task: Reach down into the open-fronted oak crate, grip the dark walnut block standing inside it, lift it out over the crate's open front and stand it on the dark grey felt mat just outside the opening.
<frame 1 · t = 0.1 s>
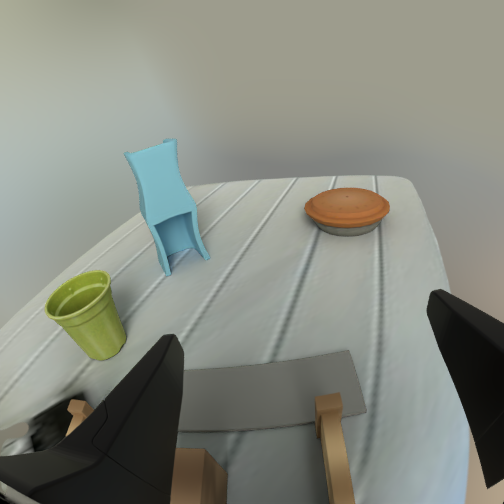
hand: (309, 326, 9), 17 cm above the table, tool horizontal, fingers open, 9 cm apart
pie: (348, 223, 52), on the table
wavy blue tube: (182, 259, 51), on the table
block: (199, 496, 17), on the table
plant pot: (107, 345, 34), on the table
mat: (249, 397, 25), on the table
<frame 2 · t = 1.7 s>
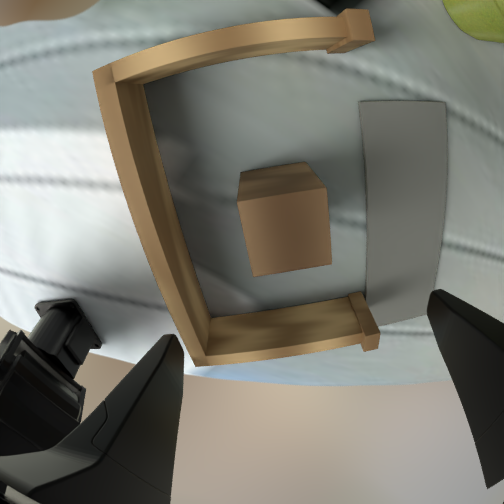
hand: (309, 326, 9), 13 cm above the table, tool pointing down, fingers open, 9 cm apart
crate: (256, 200, 20), on the table
block: (278, 196, 20), on the table
plant pot: (466, 7, 12), on the table
mat: (406, 227, 21), on the table
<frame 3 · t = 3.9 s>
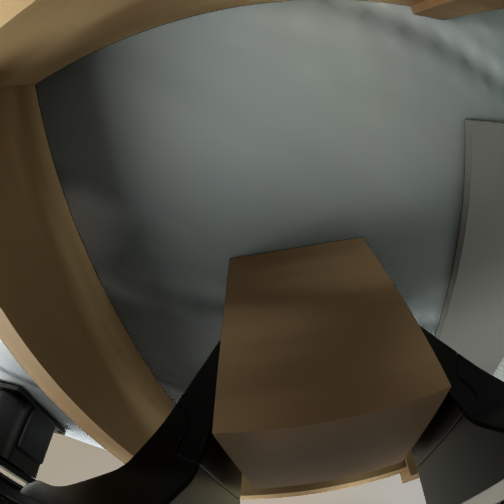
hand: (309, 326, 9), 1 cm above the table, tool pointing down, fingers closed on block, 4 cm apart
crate: (262, 307, 11), on the table
block: (303, 300, 10), on the table, touching gripper
mat: (485, 319, 12), on the table
when the fingers open (3 cm above the table, at t = 8.2 s): block stays where it is, resting on mat.
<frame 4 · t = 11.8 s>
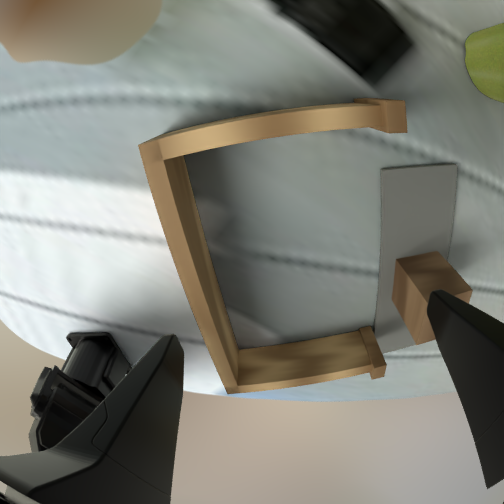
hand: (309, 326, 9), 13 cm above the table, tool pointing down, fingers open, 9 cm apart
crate: (286, 256, 23), on the table
block: (414, 275, 24), resting on mat
plant pot: (485, 64, 14), on the table
mat: (413, 273, 24), on the table
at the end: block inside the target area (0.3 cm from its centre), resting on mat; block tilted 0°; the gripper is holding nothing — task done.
